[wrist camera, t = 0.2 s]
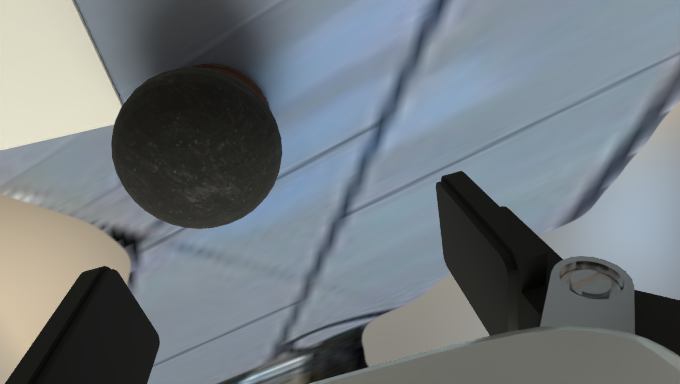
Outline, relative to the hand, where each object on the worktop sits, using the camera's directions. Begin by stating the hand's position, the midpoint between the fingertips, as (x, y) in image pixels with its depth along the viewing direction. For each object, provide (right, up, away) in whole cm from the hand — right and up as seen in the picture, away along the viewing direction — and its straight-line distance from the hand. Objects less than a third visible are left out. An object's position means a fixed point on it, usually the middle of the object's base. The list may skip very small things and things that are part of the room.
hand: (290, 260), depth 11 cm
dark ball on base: (-11, +9, +29) cm, 32 cm away
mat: (-29, +14, +23) cm, 40 cm away
